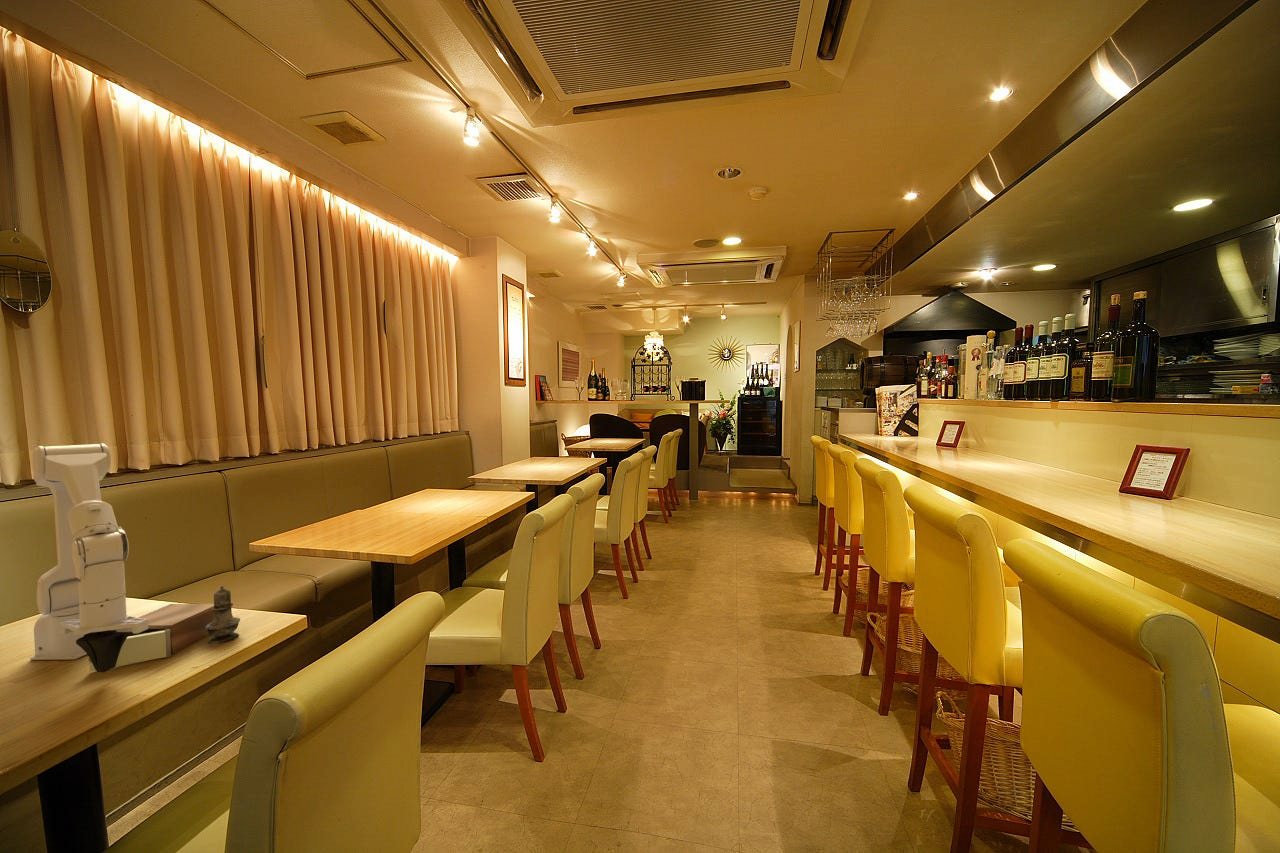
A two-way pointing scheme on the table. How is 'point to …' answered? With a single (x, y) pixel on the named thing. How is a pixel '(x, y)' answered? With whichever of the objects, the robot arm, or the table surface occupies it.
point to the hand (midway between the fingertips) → (106, 669)
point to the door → (143, 648)
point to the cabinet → (180, 623)
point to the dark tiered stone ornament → (222, 619)
